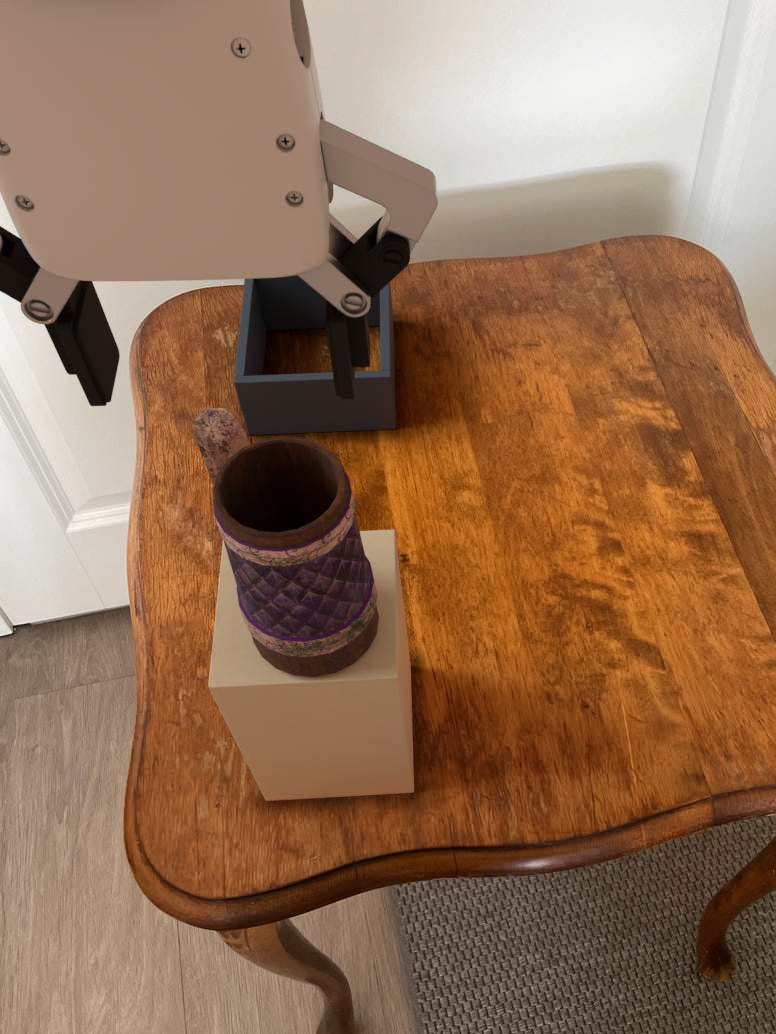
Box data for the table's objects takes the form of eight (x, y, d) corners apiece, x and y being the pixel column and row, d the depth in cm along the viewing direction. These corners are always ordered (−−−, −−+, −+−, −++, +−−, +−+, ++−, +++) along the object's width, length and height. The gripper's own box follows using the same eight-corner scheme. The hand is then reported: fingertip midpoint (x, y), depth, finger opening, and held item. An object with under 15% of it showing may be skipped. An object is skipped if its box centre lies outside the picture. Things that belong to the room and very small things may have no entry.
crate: (248, 435, 80) (233, 382, 75) (258, 325, 87) (245, 270, 82) (395, 429, 81) (390, 376, 76) (393, 320, 88) (388, 265, 83)
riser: (265, 801, 63) (207, 687, 49) (273, 672, 68) (222, 536, 54) (414, 793, 63) (397, 677, 50) (410, 665, 68) (395, 528, 55)
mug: (407, 633, 51) (390, 488, 41) (297, 706, 49) (249, 571, 38) (304, 518, 55) (265, 360, 45) (198, 579, 53) (131, 427, 43)
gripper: (426, -198, 26) (437, 312, 40) (-223, -201, 25) (27, 321, 40) (436, -74, 22) (444, 440, 37) (-333, -73, 21) (-11, 454, 36)
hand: (227, 378), depth 38 cm, fingers open, 9 cm apart
